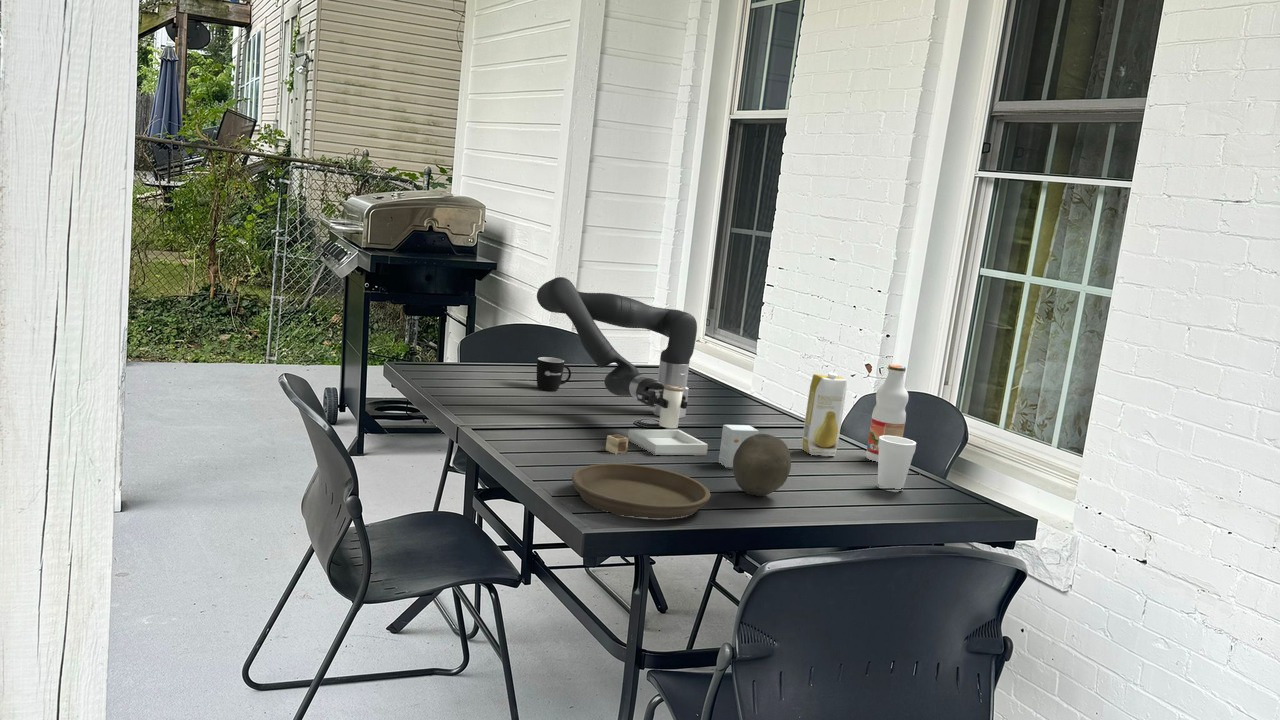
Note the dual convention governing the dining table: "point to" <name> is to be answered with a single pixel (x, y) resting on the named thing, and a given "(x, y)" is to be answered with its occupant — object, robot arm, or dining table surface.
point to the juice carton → (824, 414)
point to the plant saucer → (639, 490)
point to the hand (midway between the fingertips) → (676, 404)
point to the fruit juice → (888, 410)
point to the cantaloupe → (761, 464)
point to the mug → (550, 373)
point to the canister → (671, 406)
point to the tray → (667, 442)
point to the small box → (733, 441)
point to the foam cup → (894, 460)
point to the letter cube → (617, 444)
